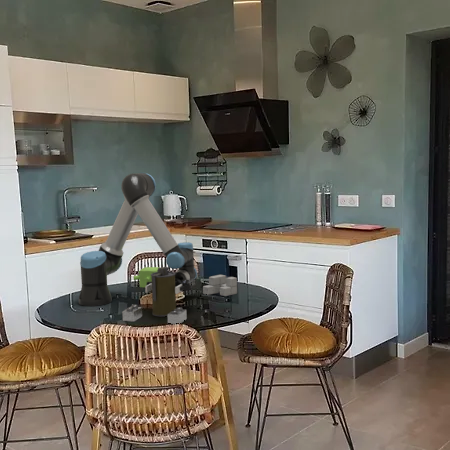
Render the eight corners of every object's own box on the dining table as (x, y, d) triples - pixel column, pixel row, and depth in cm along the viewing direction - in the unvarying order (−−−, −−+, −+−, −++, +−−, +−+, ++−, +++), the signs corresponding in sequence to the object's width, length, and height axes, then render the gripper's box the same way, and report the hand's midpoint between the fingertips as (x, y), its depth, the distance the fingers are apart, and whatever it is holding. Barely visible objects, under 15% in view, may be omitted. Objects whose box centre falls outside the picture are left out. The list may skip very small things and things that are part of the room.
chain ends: (122, 320, 232) (122, 308, 232) (131, 315, 240) (131, 304, 239) (179, 324, 225) (179, 312, 224) (186, 319, 233) (186, 307, 232)
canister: (164, 309, 249) (163, 264, 247) (181, 312, 243) (180, 266, 241) (146, 314, 241) (144, 268, 239) (163, 318, 234) (161, 271, 232)
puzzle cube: (202, 293, 278) (202, 278, 277) (221, 289, 285) (221, 274, 285) (218, 297, 269) (218, 281, 268) (237, 293, 276) (236, 277, 275)
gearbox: (130, 288, 295) (128, 270, 294) (138, 283, 305) (137, 266, 303) (161, 289, 290) (160, 271, 288) (169, 284, 299) (168, 267, 298)
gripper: (205, 288, 255) (189, 300, 235) (154, 286, 262) (134, 297, 242) (204, 272, 254) (188, 282, 234) (153, 270, 261) (133, 280, 241)
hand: (160, 290), depth 238 cm, fingers open, 13 cm apart
